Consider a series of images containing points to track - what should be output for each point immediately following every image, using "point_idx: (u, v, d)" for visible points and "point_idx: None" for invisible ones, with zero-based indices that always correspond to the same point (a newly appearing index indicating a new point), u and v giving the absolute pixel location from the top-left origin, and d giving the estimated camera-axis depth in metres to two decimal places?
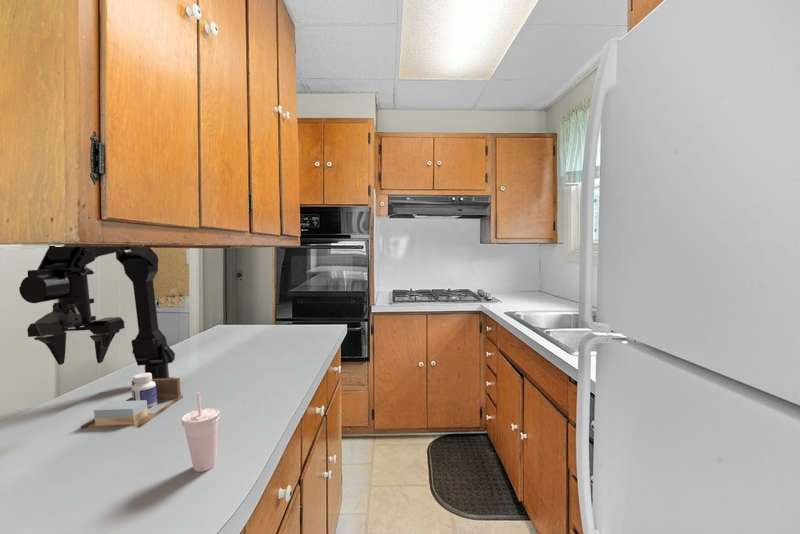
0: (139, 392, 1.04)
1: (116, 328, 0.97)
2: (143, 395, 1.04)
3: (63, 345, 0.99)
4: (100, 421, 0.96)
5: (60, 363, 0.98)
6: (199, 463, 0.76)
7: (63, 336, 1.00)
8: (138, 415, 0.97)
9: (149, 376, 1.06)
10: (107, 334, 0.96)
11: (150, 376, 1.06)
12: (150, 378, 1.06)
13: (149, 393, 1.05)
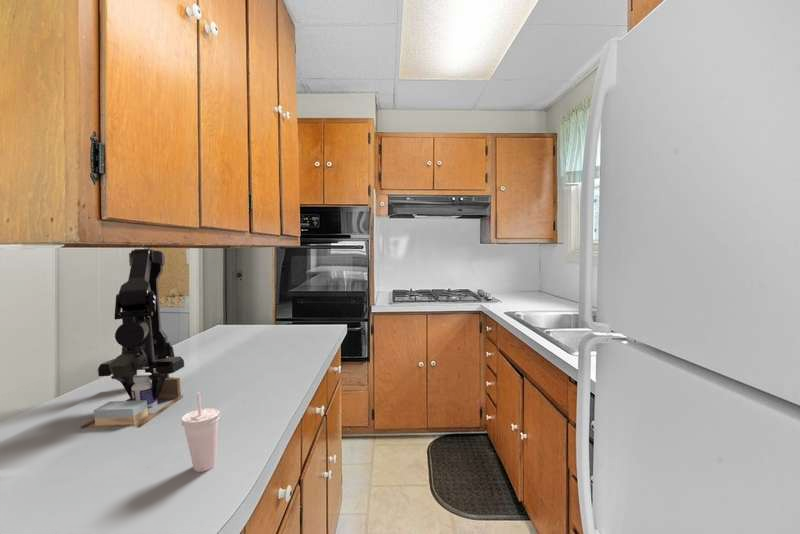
0: (139, 392, 1.04)
1: (178, 367, 1.06)
2: (143, 395, 1.04)
3: None
4: (100, 421, 0.96)
5: None
6: (199, 463, 0.76)
7: (135, 374, 1.08)
8: (138, 415, 0.97)
9: None
10: (163, 374, 1.05)
11: None
12: None
13: (149, 393, 1.05)
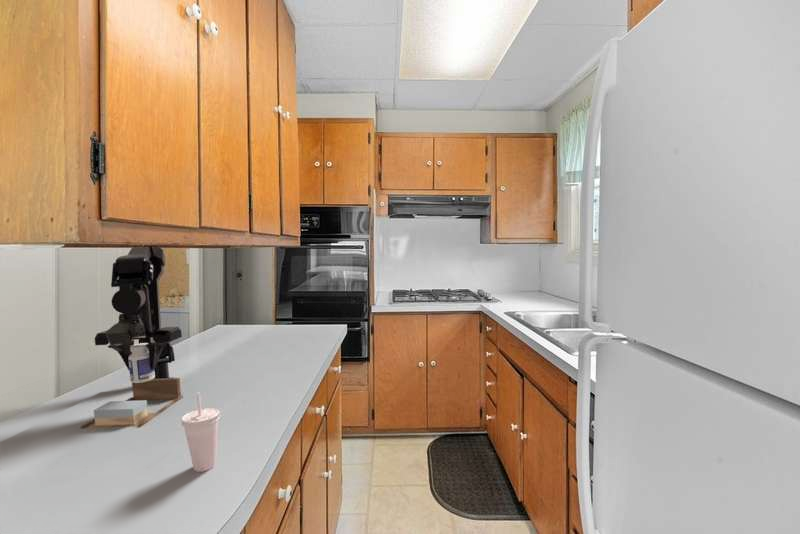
0: (136, 361, 1.03)
1: (175, 337, 1.05)
2: (140, 365, 1.04)
3: None
4: (100, 421, 0.96)
5: None
6: (199, 463, 0.76)
7: (132, 344, 1.08)
8: (138, 415, 0.97)
9: None
10: (161, 343, 1.04)
11: None
12: (147, 348, 1.06)
13: (146, 363, 1.04)
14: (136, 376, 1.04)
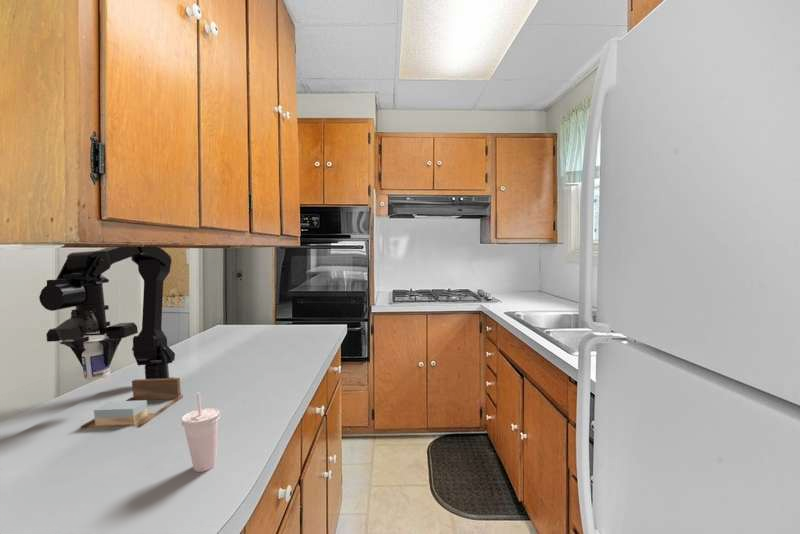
0: (89, 357, 1.02)
1: (130, 333, 1.04)
2: (94, 361, 1.02)
3: None
4: (100, 421, 0.96)
5: None
6: (199, 463, 0.76)
7: (86, 340, 1.06)
8: (138, 415, 0.97)
9: None
10: (115, 339, 1.03)
11: None
12: None
13: (100, 359, 1.03)
14: (90, 373, 1.02)
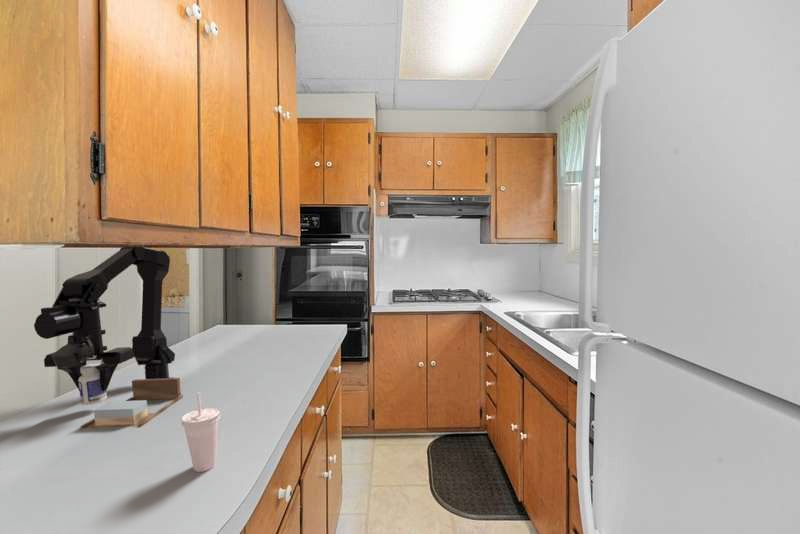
0: (85, 383, 1.02)
1: (126, 358, 1.04)
2: (90, 386, 1.02)
3: None
4: (100, 421, 0.96)
5: None
6: (199, 463, 0.76)
7: (84, 365, 1.07)
8: (138, 415, 0.97)
9: None
10: (111, 364, 1.03)
11: None
12: None
13: (96, 384, 1.03)
14: (86, 398, 1.02)
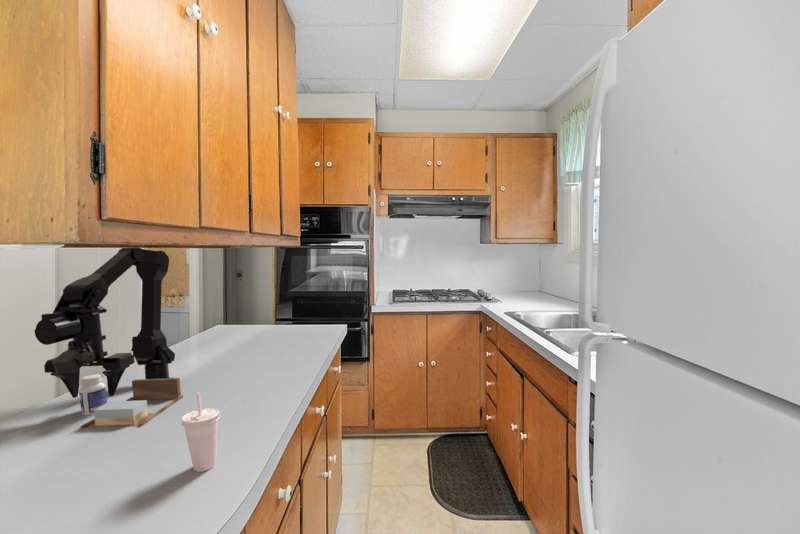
0: (86, 394, 1.02)
1: (127, 364, 1.04)
2: (91, 397, 1.03)
3: (77, 379, 1.06)
4: (100, 421, 0.96)
5: (74, 396, 1.05)
6: (199, 463, 0.76)
7: (77, 370, 1.07)
8: (138, 415, 0.97)
9: (98, 378, 1.04)
10: (119, 370, 1.03)
11: (99, 378, 1.05)
12: (99, 380, 1.05)
13: (97, 395, 1.03)
14: (87, 409, 1.03)
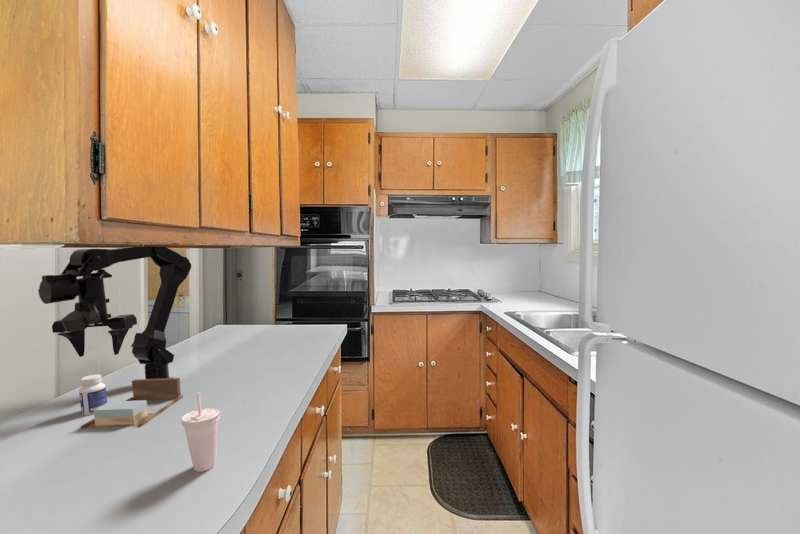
0: (86, 394, 1.02)
1: (130, 324, 1.12)
2: (91, 397, 1.03)
3: (82, 339, 1.13)
4: (100, 421, 0.96)
5: (81, 355, 1.12)
6: (199, 463, 0.76)
7: (82, 332, 1.14)
8: (138, 415, 0.97)
9: (98, 378, 1.04)
10: (123, 329, 1.10)
11: (99, 378, 1.05)
12: (99, 380, 1.05)
13: (97, 395, 1.03)
14: (87, 409, 1.03)
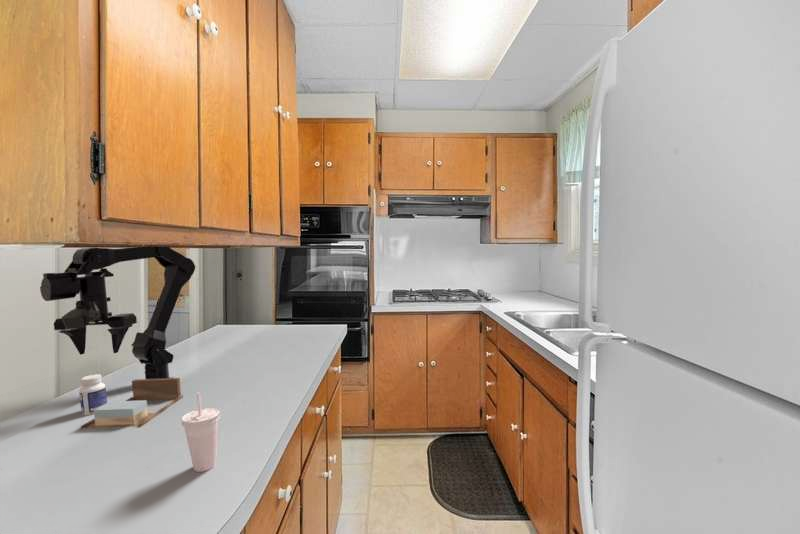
0: (86, 394, 1.02)
1: (130, 323, 1.12)
2: (91, 397, 1.03)
3: (84, 337, 1.15)
4: (100, 421, 0.96)
5: (81, 353, 1.13)
6: (199, 463, 0.76)
7: (84, 330, 1.15)
8: (138, 415, 0.97)
9: (98, 378, 1.04)
10: (122, 328, 1.11)
11: (99, 378, 1.05)
12: (99, 380, 1.05)
13: (97, 395, 1.03)
14: (87, 409, 1.03)
